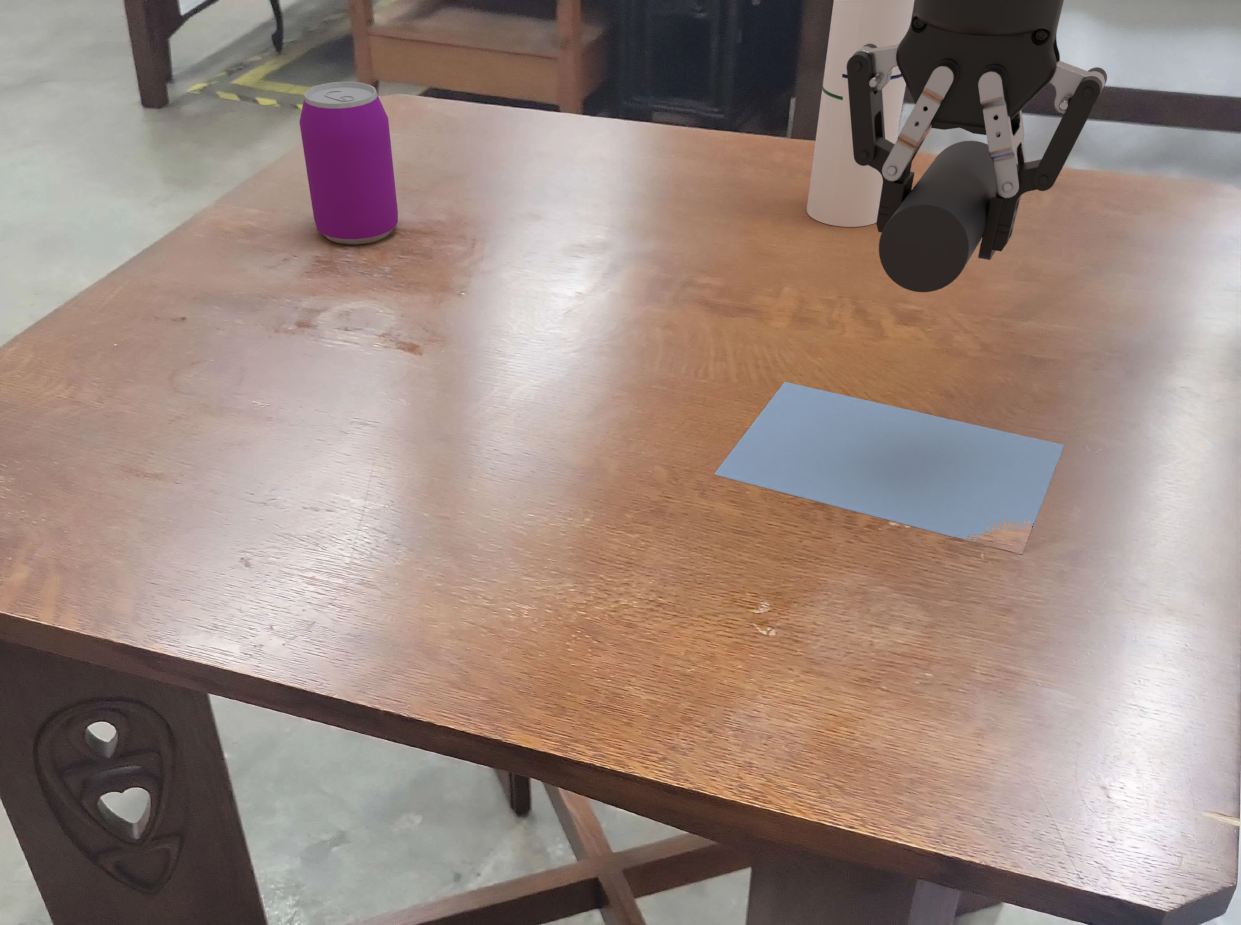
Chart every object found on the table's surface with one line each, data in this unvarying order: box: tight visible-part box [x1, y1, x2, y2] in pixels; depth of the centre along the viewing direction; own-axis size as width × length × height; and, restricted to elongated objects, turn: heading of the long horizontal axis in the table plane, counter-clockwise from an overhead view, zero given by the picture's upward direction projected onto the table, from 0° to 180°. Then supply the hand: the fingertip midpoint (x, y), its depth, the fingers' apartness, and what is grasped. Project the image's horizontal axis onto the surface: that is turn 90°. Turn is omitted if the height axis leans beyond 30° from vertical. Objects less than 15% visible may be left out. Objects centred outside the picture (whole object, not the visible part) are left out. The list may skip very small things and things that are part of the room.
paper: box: [713, 381, 1065, 542], centre depth 80 cm, size 20×14×1 cm
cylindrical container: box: [806, 0, 914, 228], centre depth 103 cm, size 7×7×25 cm
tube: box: [878, 140, 997, 293], centre depth 70 cm, size 11×5×5 cm, turn 153°
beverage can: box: [299, 81, 399, 246], centre depth 106 cm, size 8×8×12 cm
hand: (939, 245), depth 71 cm, fingers closed on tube, 5 cm apart
